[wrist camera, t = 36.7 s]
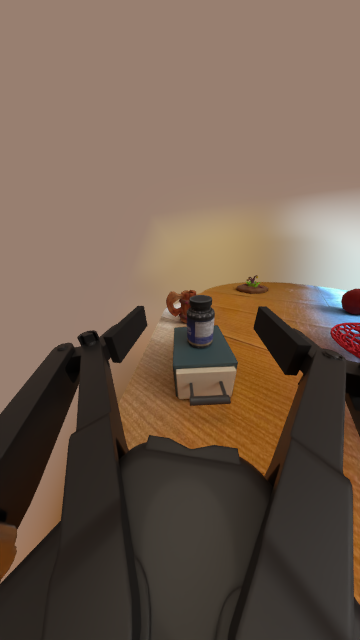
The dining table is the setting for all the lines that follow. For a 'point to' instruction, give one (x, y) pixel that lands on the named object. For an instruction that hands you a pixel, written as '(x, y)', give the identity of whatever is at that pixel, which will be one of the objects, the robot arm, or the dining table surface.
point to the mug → (184, 302)
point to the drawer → (206, 384)
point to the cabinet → (200, 352)
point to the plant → (252, 287)
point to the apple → (351, 301)
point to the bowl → (351, 346)
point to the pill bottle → (200, 321)
